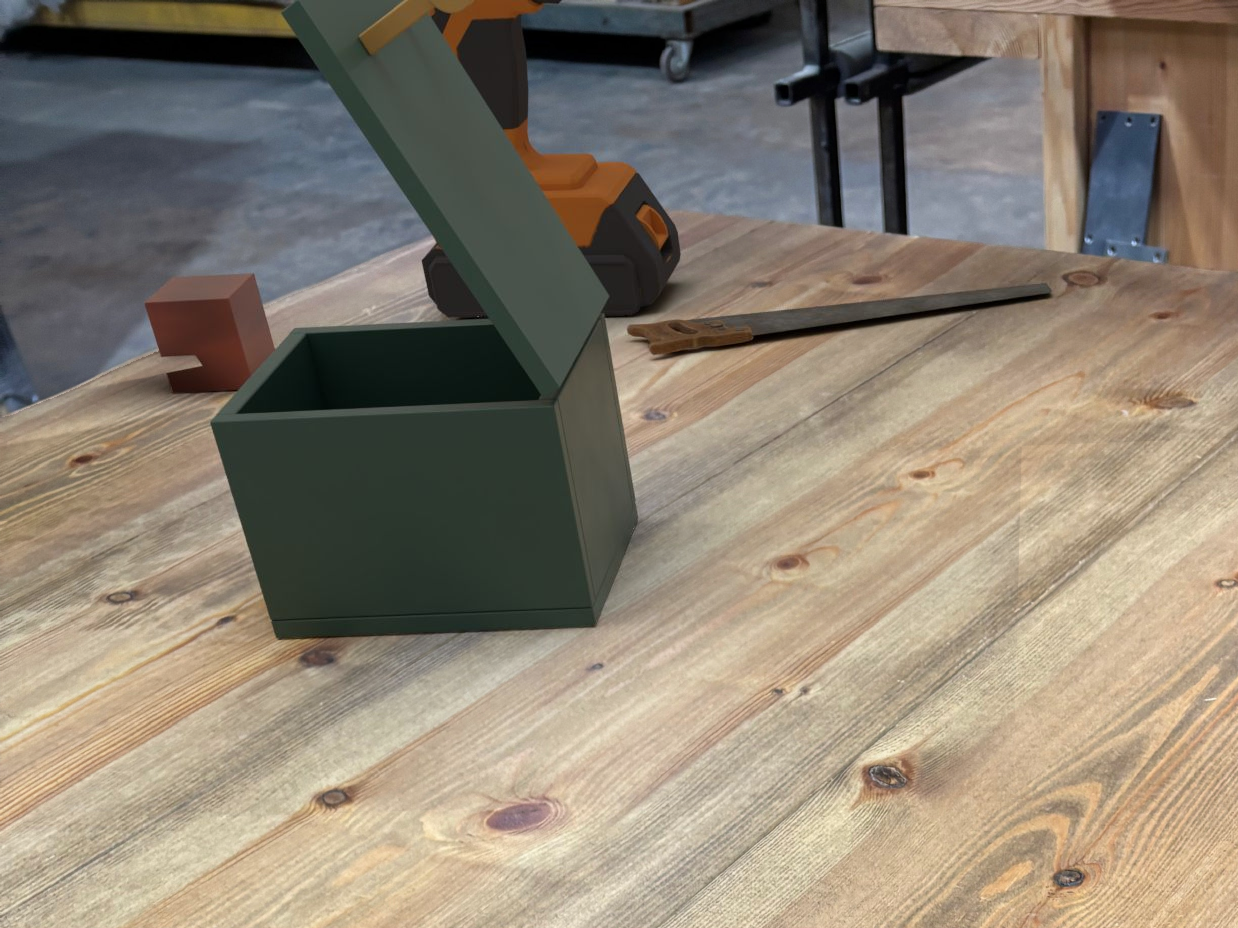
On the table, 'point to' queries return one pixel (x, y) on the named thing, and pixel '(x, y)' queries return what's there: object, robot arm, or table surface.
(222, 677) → the table surface
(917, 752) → the table surface
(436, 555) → the chest
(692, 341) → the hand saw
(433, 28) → the lid
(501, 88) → the power drill
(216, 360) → the block
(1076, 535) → the table surface
